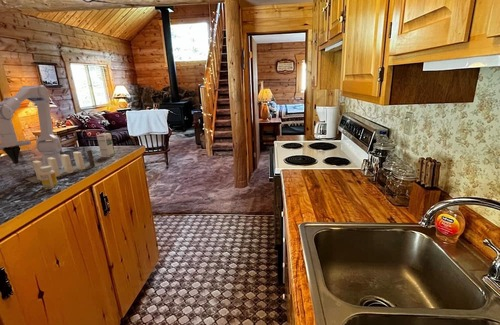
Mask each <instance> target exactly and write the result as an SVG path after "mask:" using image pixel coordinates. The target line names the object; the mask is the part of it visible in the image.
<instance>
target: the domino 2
mask: <svg viewBox="0 0 500 325" xmlns="http://www.w3.org/2000/svg"><path fill="white" fill-rule="evenodd" d="M47 161H48V164H49V166H51V167H52V169H51V170H53V171H54V172H55V175H56V178H58V177H57V176H59V177H62V176H61V175H60V172H59V170H60V168H58V164H57V161H56V158H53V157H50V158H47Z"/></svg>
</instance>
